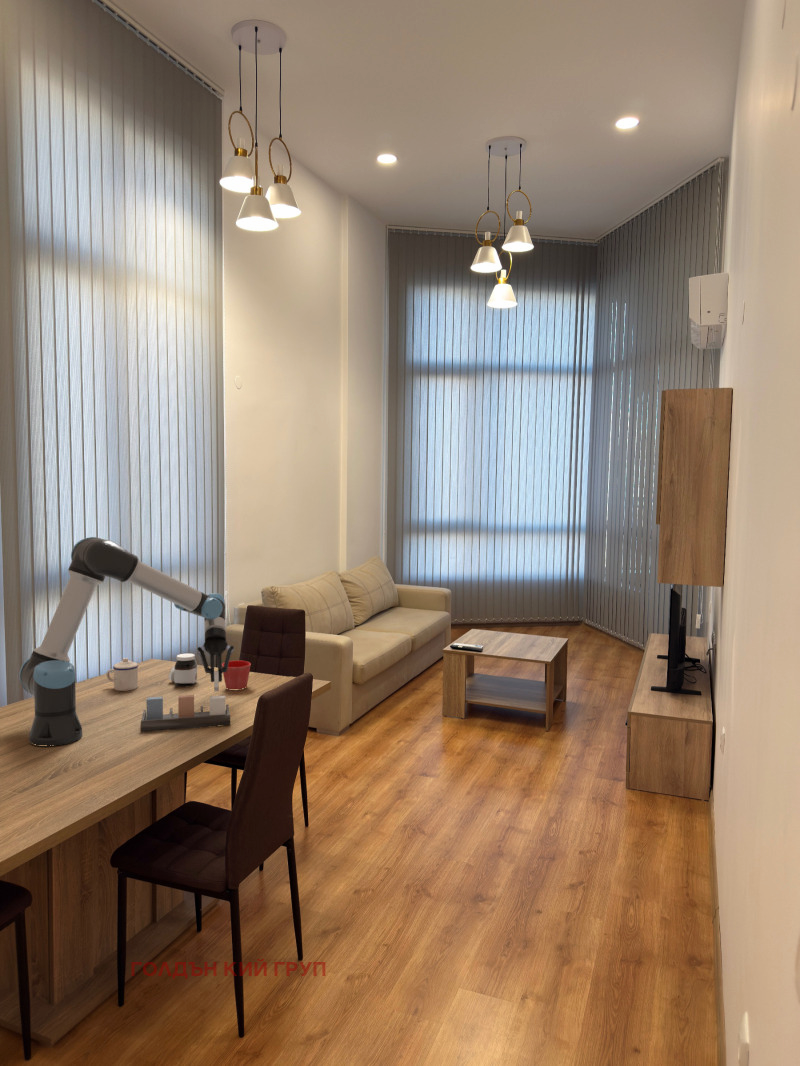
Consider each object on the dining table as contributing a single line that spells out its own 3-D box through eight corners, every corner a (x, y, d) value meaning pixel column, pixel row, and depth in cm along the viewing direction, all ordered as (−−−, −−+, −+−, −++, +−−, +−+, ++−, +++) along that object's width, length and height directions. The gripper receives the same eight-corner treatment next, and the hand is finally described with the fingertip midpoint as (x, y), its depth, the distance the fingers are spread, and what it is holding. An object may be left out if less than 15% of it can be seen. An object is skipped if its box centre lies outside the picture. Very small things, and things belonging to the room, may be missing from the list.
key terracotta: (178, 716, 251) (178, 695, 250) (194, 715, 252) (194, 694, 252) (178, 719, 248) (178, 697, 248) (194, 717, 250) (194, 696, 249)
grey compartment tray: (143, 720, 252) (143, 710, 252) (228, 714, 260) (228, 704, 259) (140, 731, 241) (140, 721, 240) (230, 725, 248) (230, 715, 248)
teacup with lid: (142, 685, 294) (141, 655, 294) (133, 691, 285) (132, 661, 284) (111, 684, 295) (111, 655, 294) (102, 691, 286) (101, 660, 285)
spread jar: (191, 688, 291) (190, 658, 290) (162, 687, 292) (162, 657, 291) (201, 680, 303) (201, 651, 302) (173, 679, 304) (173, 650, 303)
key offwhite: (209, 717, 250) (209, 696, 249) (225, 716, 251) (225, 695, 251) (209, 720, 248) (209, 698, 247) (225, 719, 249) (225, 697, 248)
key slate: (147, 718, 248) (146, 697, 248) (163, 717, 249) (162, 696, 249) (146, 721, 246) (146, 699, 245) (162, 720, 247) (162, 698, 246)
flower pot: (244, 692, 286) (244, 667, 285) (217, 691, 287) (217, 666, 287) (254, 685, 296) (254, 661, 295) (228, 683, 298) (228, 659, 297)
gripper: (233, 636, 279) (235, 693, 264) (196, 638, 275) (197, 695, 261) (233, 625, 273) (236, 682, 258) (196, 627, 270) (197, 685, 255)
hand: (216, 689), depth 260 cm, fingers closed
